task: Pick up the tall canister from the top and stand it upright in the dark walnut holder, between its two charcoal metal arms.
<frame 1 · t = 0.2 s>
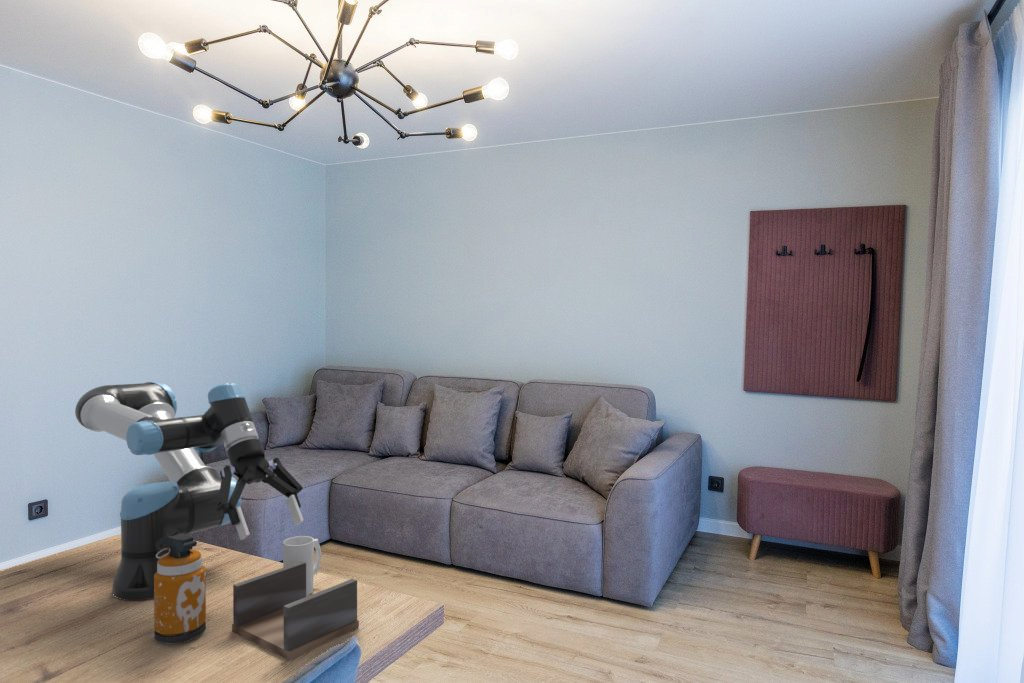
hand: (273, 530, 143), 16 cm above the table, tool tilted 35°, fingers open, 13 cm apart
holder: (295, 629, 130), on the table
canister: (177, 635, 127), on the table
mug: (304, 591, 149), on the table
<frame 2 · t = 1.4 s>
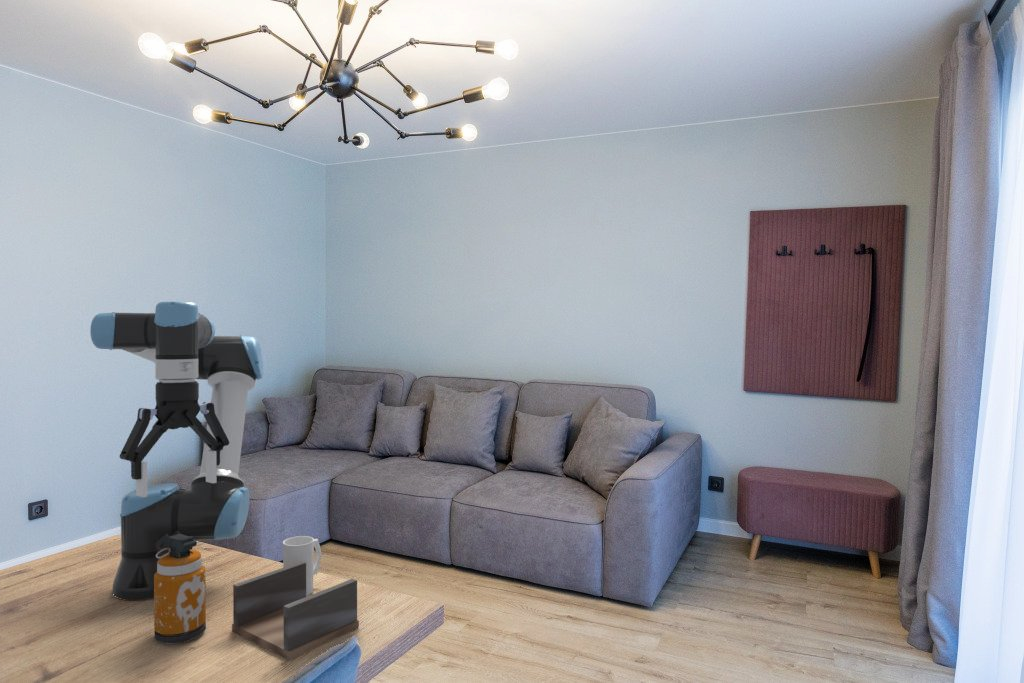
hand: (177, 489, 127), 29 cm above the table, tool pointing down, fingers open, 13 cm apart
nothing on the table moved.
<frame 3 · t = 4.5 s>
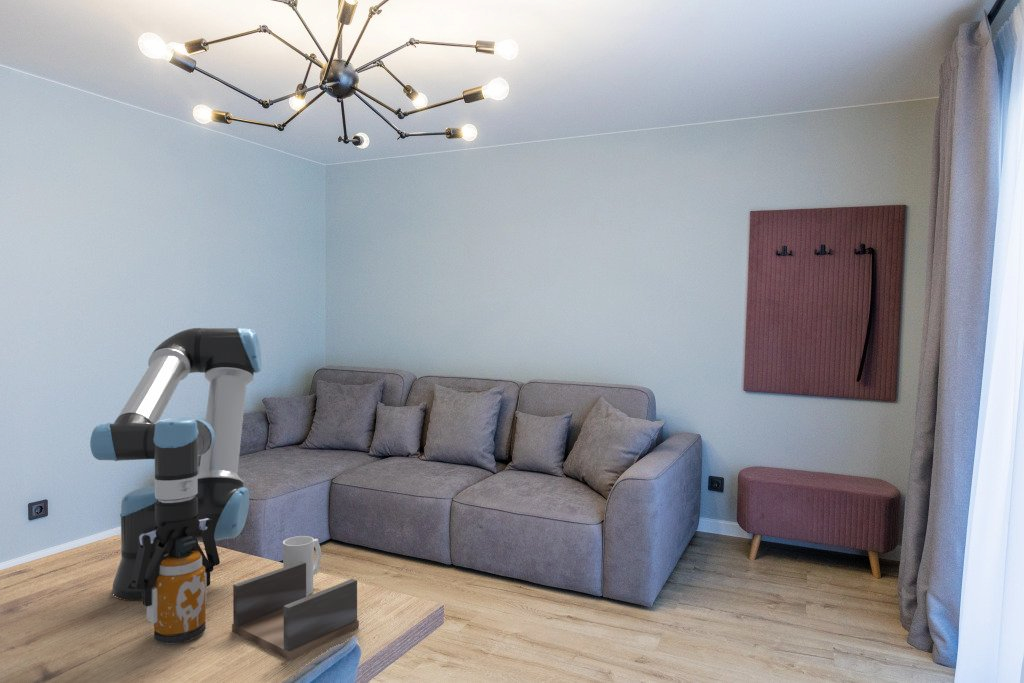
hand: (177, 611, 127), 4 cm above the table, tool pointing down, fingers closed on canister, 9 cm apart
canister: (177, 635, 127), on the table, touching gripper
everything else where it was.
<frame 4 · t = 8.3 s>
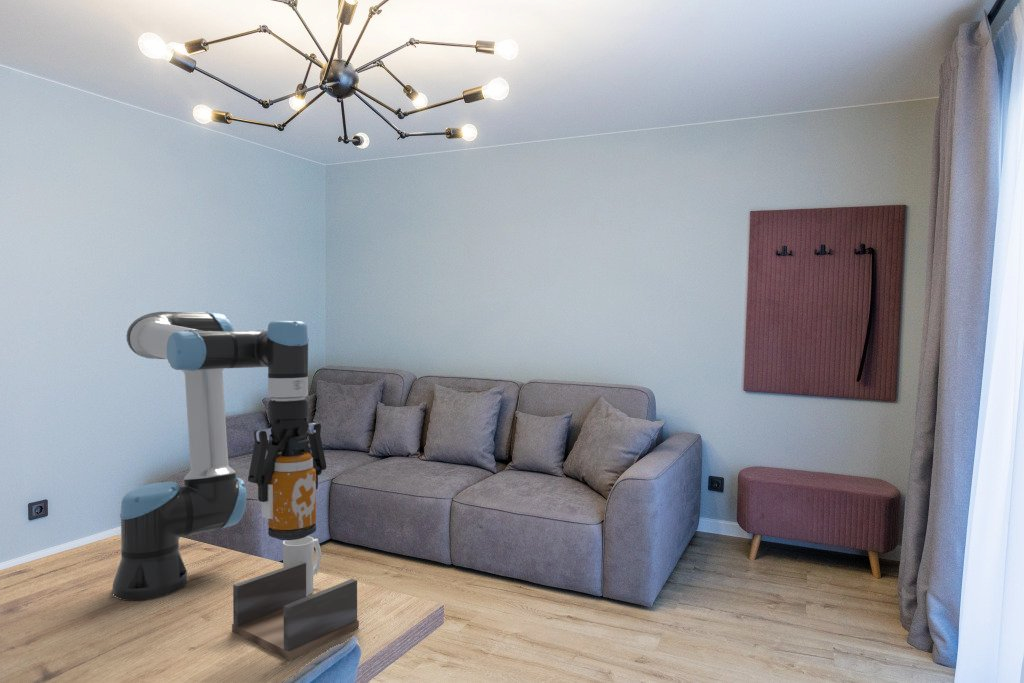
hand: (289, 511, 129), 24 cm above the table, tool pointing down, fingers closed on canister, 9 cm apart
canister: (289, 535, 129), point 19 cm above the table, touching gripper
everything else where it was.
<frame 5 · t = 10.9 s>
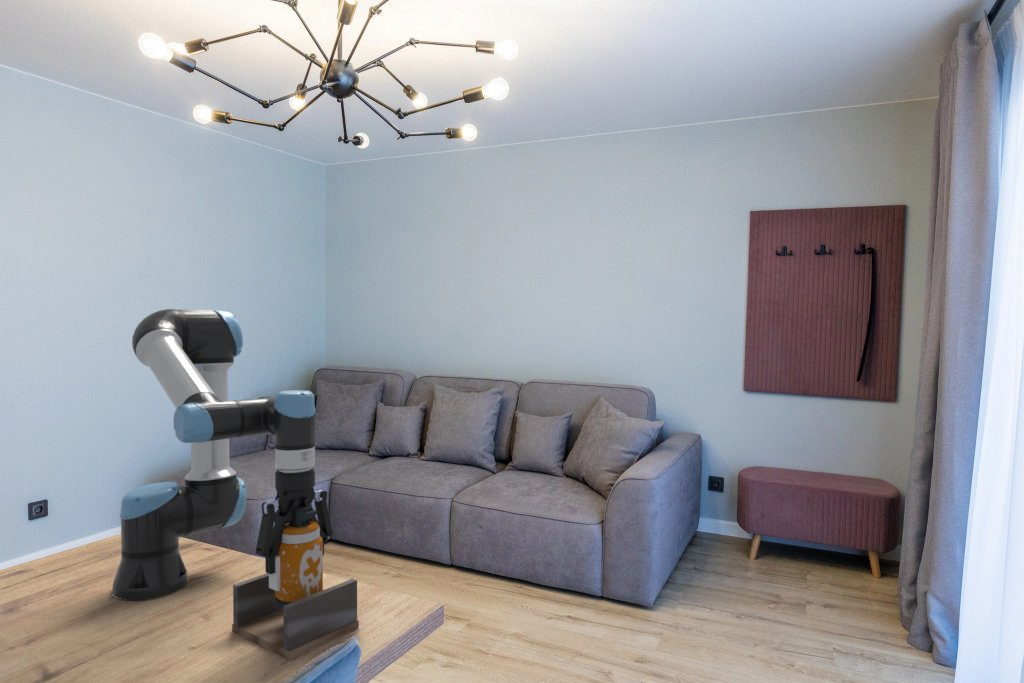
hand: (295, 580, 129), 10 cm above the table, tool pointing down, fingers closed on canister, 9 cm apart
canister: (295, 604, 129), point 5 cm above the table, touching gripper
everything else where it was.
when the fingers open (7 cm above the table, at t = 12.4 s): canister drops 1 cm, resting on holder.
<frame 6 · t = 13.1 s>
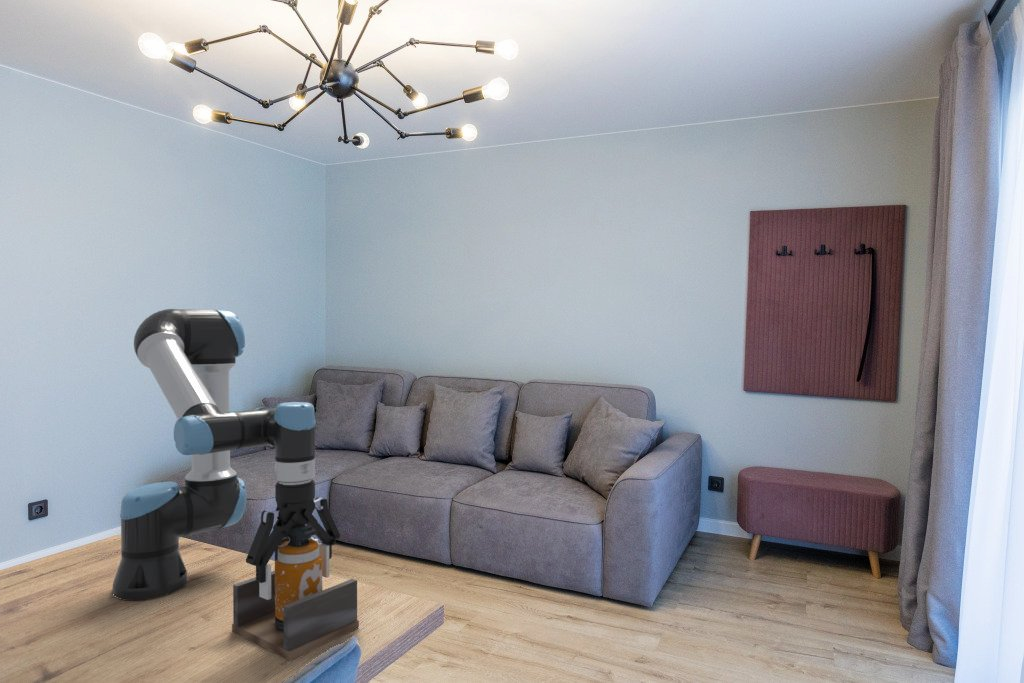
hand: (295, 586, 129), 9 cm above the table, tool pointing down, fingers open, 13 cm apart
canister: (295, 623, 130), point 1 cm above the table, touching holder
everything else where it was.
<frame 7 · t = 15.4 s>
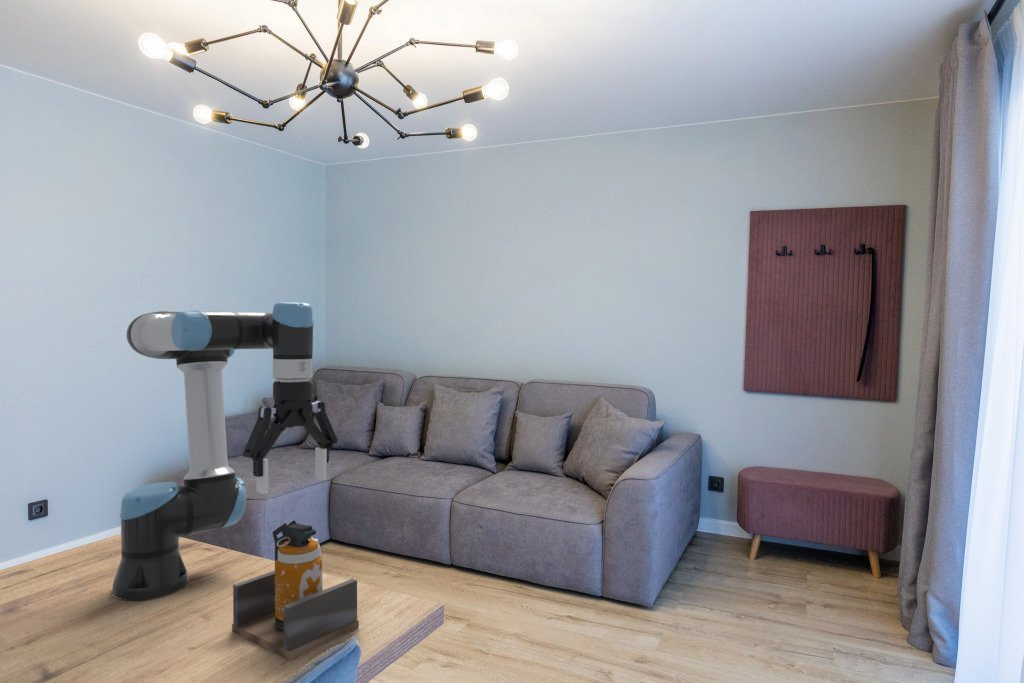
hand: (292, 485, 130), 29 cm above the table, tool pointing down, fingers open, 13 cm apart
nothing on the table moved.
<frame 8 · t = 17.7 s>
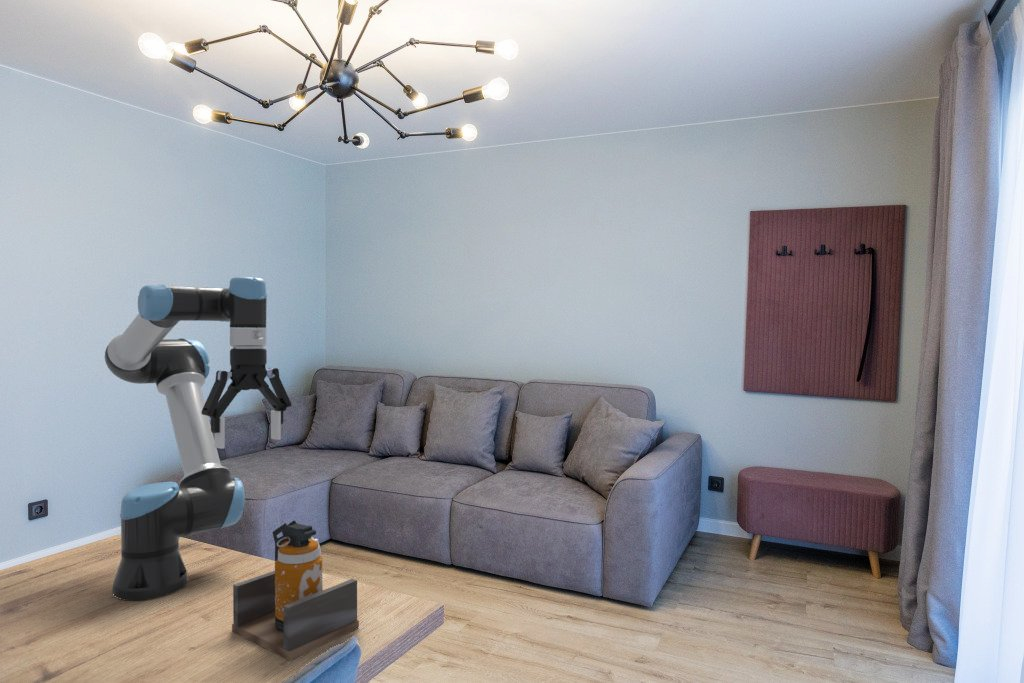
hand: (248, 443, 144), 35 cm above the table, tool pointing down, fingers open, 13 cm apart
nothing on the table moved.
at the end: canister 0.0 cm off-centre on the holder, point 1.3 cm above the holder's base; canister tilted 0°; the gripper is holding nothing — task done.
